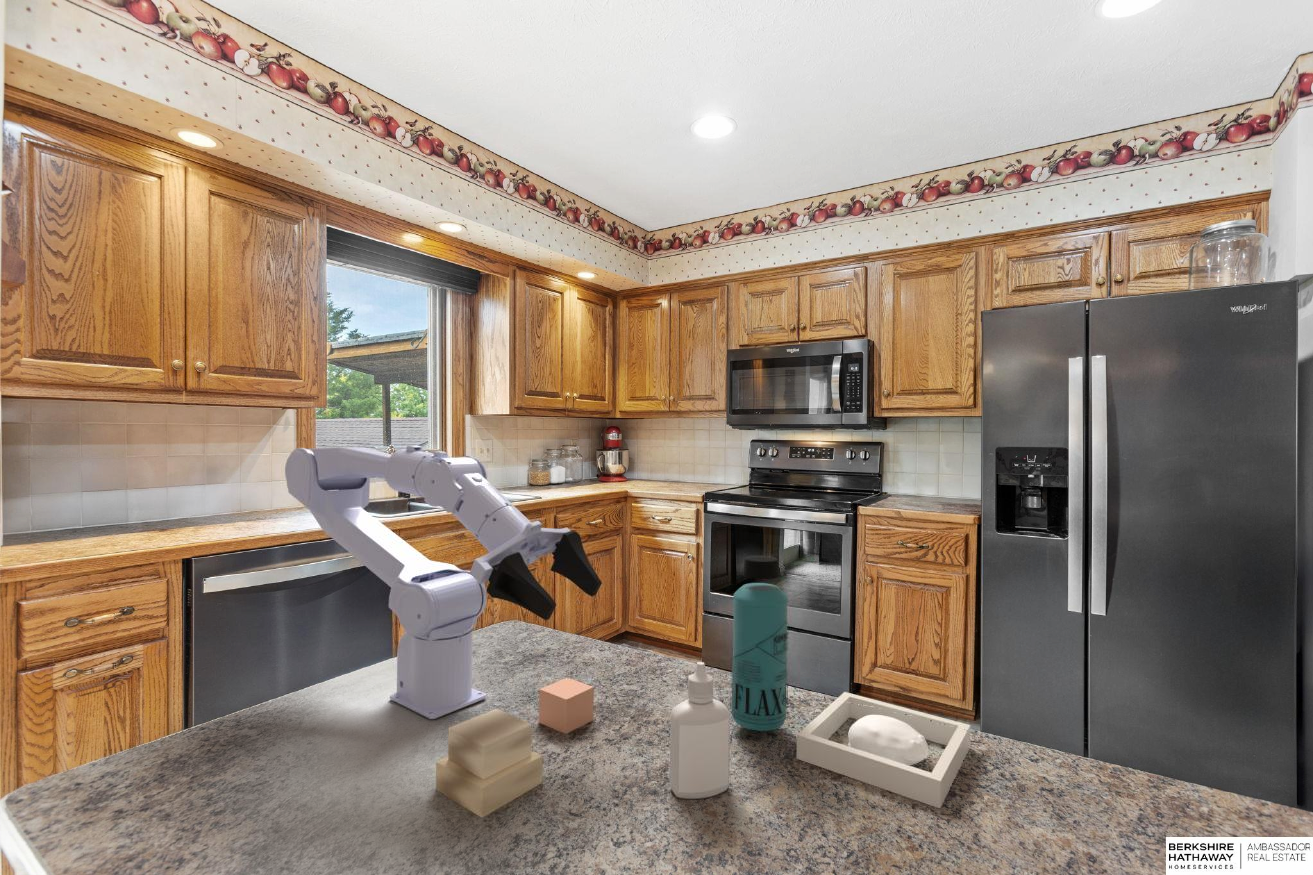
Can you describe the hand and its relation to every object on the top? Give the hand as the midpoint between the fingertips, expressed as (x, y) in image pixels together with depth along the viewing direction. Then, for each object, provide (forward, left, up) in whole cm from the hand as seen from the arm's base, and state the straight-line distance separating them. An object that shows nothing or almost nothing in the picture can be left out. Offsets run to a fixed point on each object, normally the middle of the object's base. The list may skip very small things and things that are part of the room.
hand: (575, 600), depth 67 cm
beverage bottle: (+15, +15, -16) cm, 26 cm away
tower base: (0, -11, -16) cm, 19 cm away
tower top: (0, -11, -13) cm, 17 cm away
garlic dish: (+28, +19, -16) cm, 37 cm away
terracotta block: (-4, +3, -16) cm, 17 cm away
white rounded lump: (+28, +19, -16) cm, 38 cm away
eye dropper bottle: (+16, +1, -16) cm, 22 cm away
